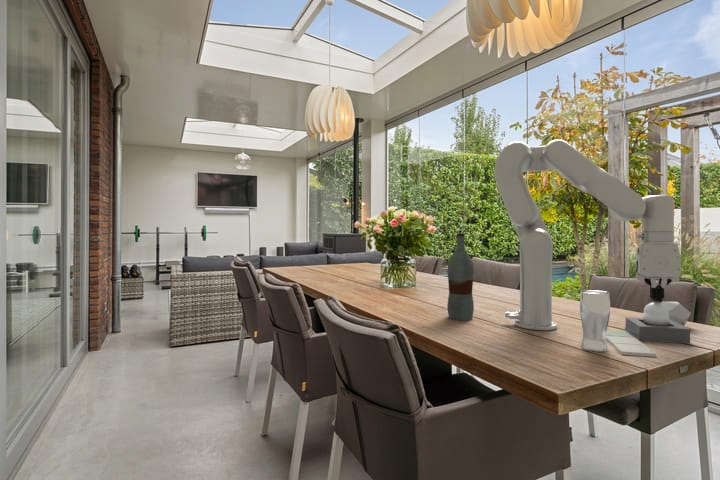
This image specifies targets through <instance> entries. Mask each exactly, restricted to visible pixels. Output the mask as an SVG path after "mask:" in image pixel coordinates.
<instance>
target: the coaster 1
mask: <svg viewBox="0 0 720 480" xmlns="http://www.w3.org/2000/svg"><path fill="white" fill-rule="evenodd" d="M606 336H619V337H634V336H633V335H631V334H630V333H629V332H627V331H626V330H622V329H620V330H619V329H617V330H615V329H607V332H606Z"/></svg>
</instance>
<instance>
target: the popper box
mask: <svg viewBox="0 0 720 480" xmlns="http://www.w3.org/2000/svg"><path fill="white" fill-rule="evenodd" d="M643 318H644V317H628V316H627V317H625V329H624V331H626V332H628V333H629V334H630V335H632V336H633V337H634V338H636V339H637V340H639V341H640V342H642V341H644V342H658V343H659V342H660V343H675V344H689V345H690V344H691V328H689V327H687V326H686V325H685V326H683V325H681V324H679V323H677V322H675V321H673V320H669V325H653V324H648V323H644V322H643Z"/></svg>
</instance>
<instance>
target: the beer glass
mask: <svg viewBox="0 0 720 480" xmlns="http://www.w3.org/2000/svg"><path fill="white" fill-rule="evenodd" d="M610 299H611V298H610V291H609V292H608V291H604V290H593V289H590V290H589V289H584V290H580V297H579V314H580V315H579V316H580V321H581V322H580V323H581V328H582V340H581V344H580V345H581V346H580V347H581V349H583V350H585V351H590V352H595V353H598V352H599V353H600V352H601V353H602V352H603V353H605V352H607V351H608V350H609V349H608V341H607V340H606V332H607V330H608V327H609V321H610V315H611V300H610Z"/></svg>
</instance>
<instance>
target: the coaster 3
mask: <svg viewBox="0 0 720 480" xmlns="http://www.w3.org/2000/svg"><path fill="white" fill-rule="evenodd" d="M612 347H613V348H614V350H616V351H617V352H618V353H619V354H620V355H624V356H625V355H627V356H635V357H636V356H637V357H638V356H639V357H651V358H656V357H657V353H656V352H655V351H653V350H652V349H651V348H649V347H648V346H647V345H646V344H644V345H632V344H618V343H613V346H612Z"/></svg>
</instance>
